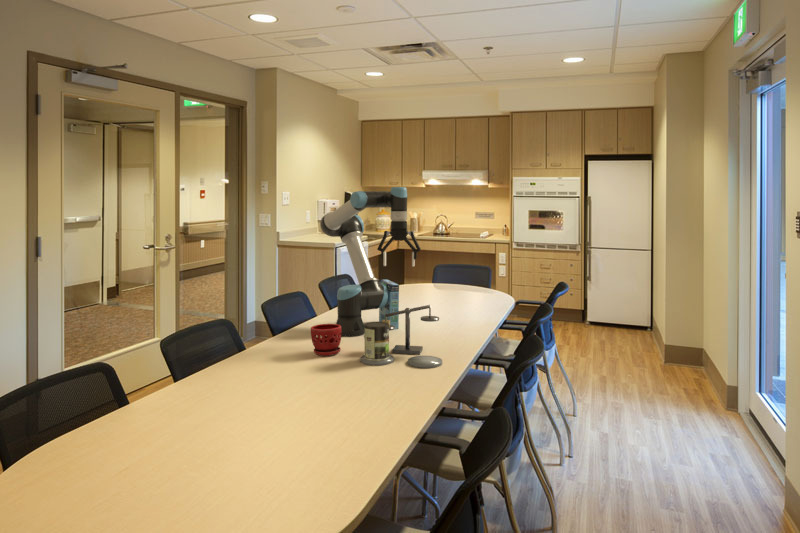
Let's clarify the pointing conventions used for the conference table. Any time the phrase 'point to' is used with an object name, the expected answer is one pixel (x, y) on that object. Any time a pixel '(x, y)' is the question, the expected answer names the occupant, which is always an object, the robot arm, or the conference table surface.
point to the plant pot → (326, 339)
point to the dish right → (425, 361)
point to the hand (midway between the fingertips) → (399, 266)
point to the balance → (407, 348)
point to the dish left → (377, 363)
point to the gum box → (390, 303)
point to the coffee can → (376, 341)
